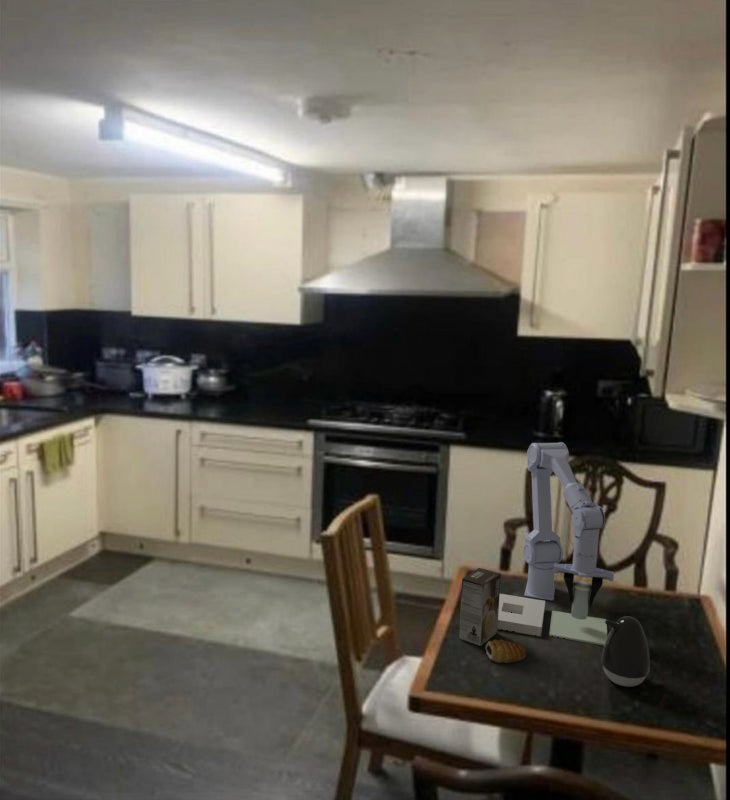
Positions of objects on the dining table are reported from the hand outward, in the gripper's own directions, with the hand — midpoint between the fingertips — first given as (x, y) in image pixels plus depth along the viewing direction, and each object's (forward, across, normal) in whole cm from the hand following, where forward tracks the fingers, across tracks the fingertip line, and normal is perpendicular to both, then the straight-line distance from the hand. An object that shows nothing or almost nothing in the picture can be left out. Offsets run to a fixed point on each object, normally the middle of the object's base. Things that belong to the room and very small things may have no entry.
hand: (580, 602), depth 182 cm
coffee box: (+7, -24, -13) cm, 28 cm away
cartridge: (+4, 0, 0) cm, 4 cm away
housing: (+7, -17, 0) cm, 18 cm away
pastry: (+8, -17, -21) cm, 28 cm away
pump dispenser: (+7, +10, -22) cm, 25 cm away
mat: (+7, 0, 0) cm, 7 cm away
